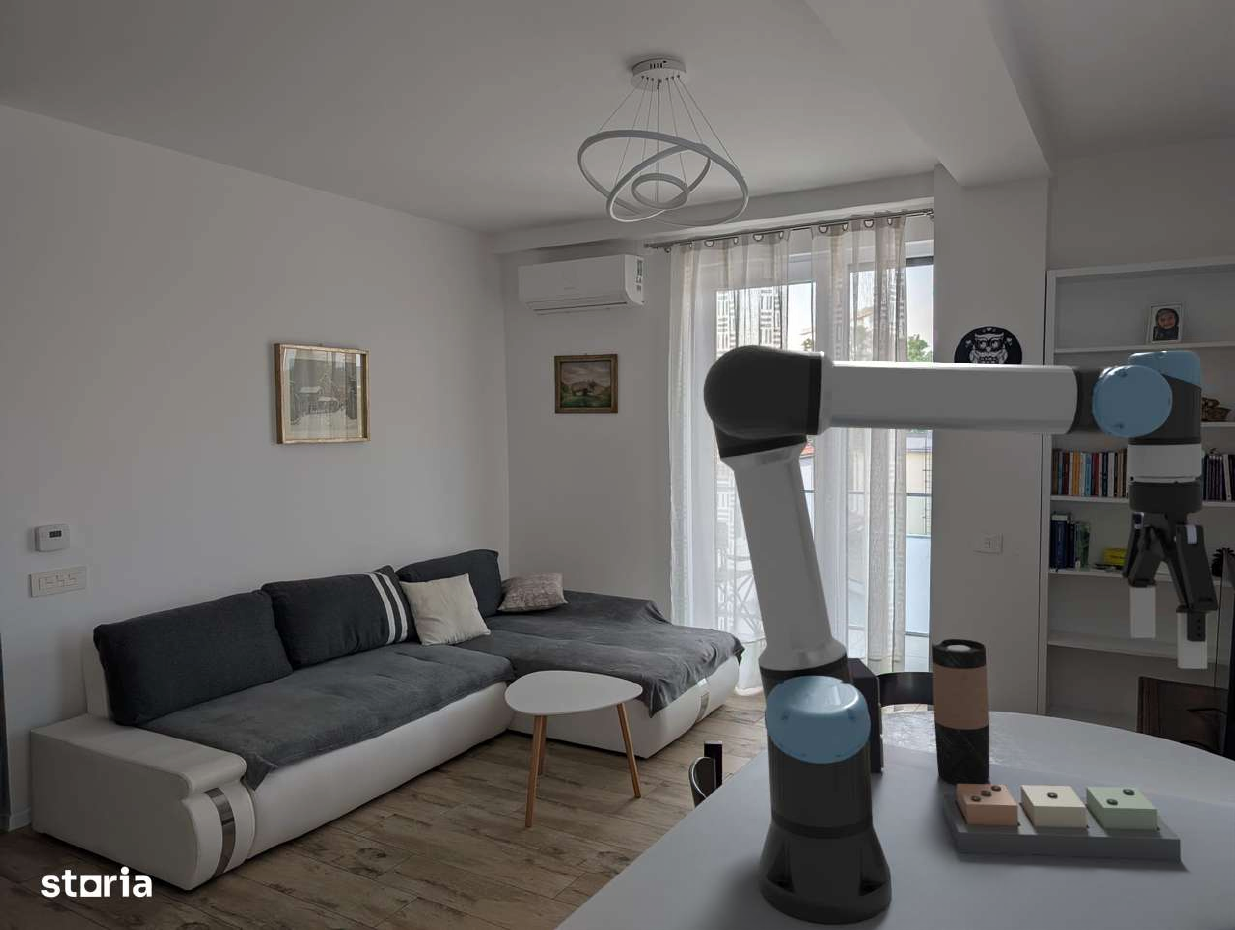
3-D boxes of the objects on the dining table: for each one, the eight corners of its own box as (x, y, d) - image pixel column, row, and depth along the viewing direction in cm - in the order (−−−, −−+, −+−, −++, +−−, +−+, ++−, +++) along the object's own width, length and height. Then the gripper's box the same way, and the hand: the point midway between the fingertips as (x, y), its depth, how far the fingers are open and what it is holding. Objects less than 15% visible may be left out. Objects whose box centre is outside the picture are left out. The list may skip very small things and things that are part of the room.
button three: (967, 826, 108) (966, 802, 108) (957, 805, 114) (956, 782, 114) (1017, 828, 107) (1017, 803, 107) (1005, 806, 113) (1004, 783, 113)
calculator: (886, 772, 130) (882, 676, 130) (858, 774, 130) (854, 678, 130) (866, 745, 141) (862, 656, 141) (840, 746, 141) (836, 658, 141)
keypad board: (959, 851, 106) (959, 832, 106) (942, 811, 117) (942, 793, 117) (1180, 859, 102) (1180, 839, 101) (1142, 816, 112) (1141, 798, 112)
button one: (1034, 829, 107) (1034, 804, 107) (1021, 807, 113) (1020, 783, 113) (1086, 830, 106) (1086, 805, 106) (1070, 808, 112) (1069, 784, 111)
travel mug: (996, 788, 123) (991, 652, 122) (940, 787, 124) (935, 652, 123) (984, 767, 130) (980, 638, 129) (932, 765, 132) (927, 638, 131)
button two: (1104, 831, 105) (1103, 806, 105) (1086, 809, 111) (1086, 785, 111) (1157, 833, 104) (1156, 807, 104) (1137, 810, 110) (1136, 786, 110)
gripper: (1255, 487, 90) (1256, 683, 92) (1154, 471, 115) (1155, 626, 116) (1177, 489, 92) (1179, 682, 93) (1093, 472, 116) (1095, 626, 117)
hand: (1166, 651), depth 105 cm, fingers open, 13 cm apart
